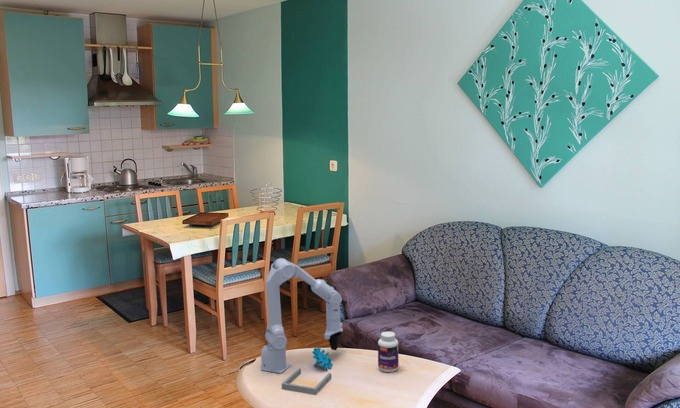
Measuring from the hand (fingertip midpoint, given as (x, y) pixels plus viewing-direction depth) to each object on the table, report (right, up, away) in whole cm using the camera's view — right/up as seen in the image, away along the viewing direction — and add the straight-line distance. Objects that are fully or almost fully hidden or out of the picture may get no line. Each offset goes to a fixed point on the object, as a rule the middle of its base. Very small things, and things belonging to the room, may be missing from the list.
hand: (334, 349), depth 248 cm
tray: (-10, -7, -23) cm, 25 cm away
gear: (-4, -5, -9) cm, 11 cm away
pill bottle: (+21, -5, -13) cm, 26 cm away
